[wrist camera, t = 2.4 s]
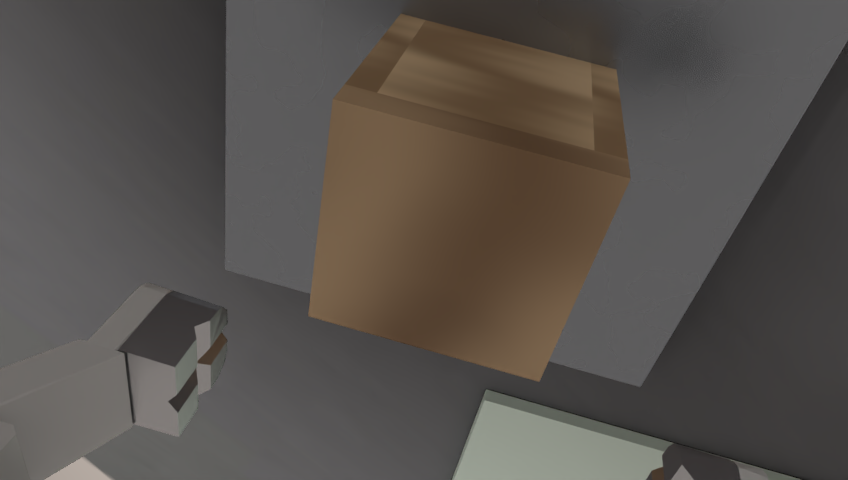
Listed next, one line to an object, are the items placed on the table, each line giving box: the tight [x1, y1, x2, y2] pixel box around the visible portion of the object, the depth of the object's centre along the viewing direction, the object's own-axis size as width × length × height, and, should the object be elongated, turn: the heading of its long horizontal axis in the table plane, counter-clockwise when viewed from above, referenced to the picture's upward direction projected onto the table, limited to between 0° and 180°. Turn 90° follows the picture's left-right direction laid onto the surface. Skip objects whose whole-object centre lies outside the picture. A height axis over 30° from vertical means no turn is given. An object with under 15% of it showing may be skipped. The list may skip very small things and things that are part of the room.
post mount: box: [225, 0, 848, 387], centre depth 18 cm, size 16×16×6 cm
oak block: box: [308, 14, 631, 382], centre depth 17 cm, size 6×6×6 cm
